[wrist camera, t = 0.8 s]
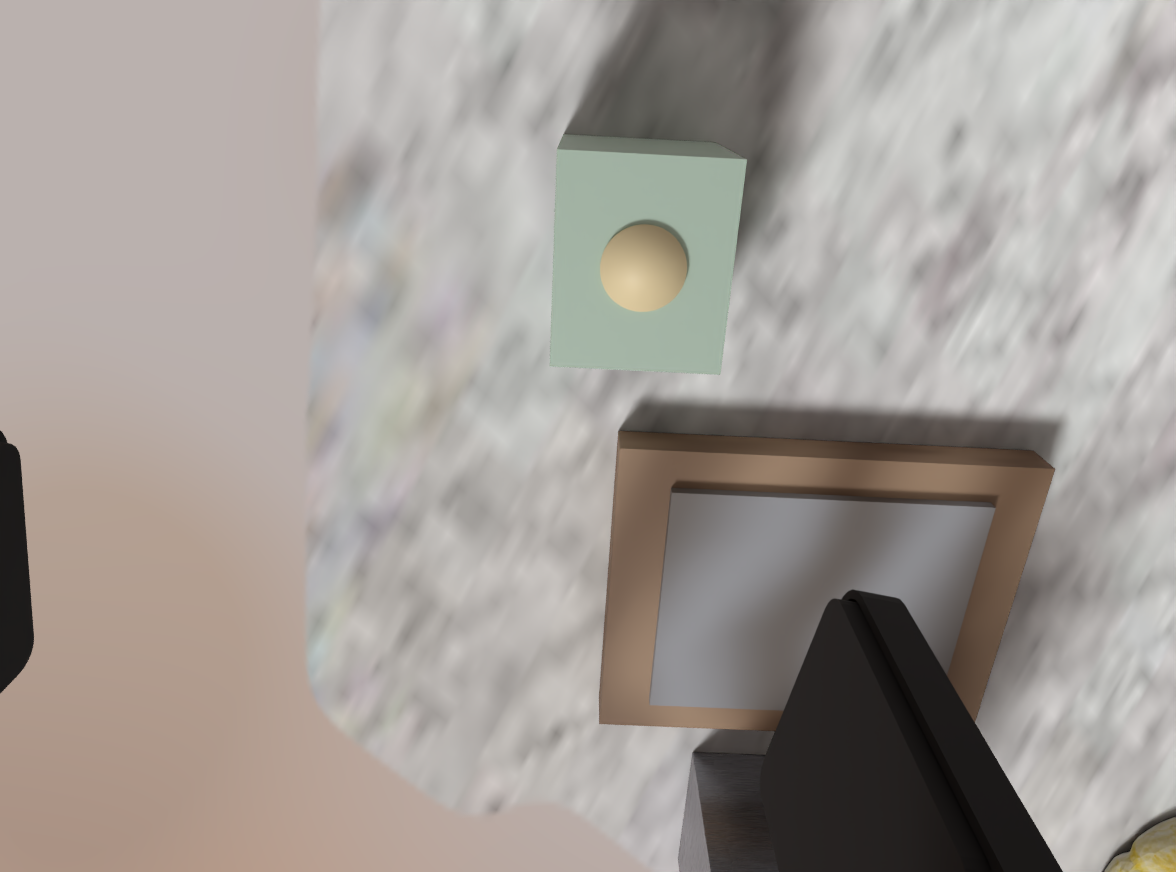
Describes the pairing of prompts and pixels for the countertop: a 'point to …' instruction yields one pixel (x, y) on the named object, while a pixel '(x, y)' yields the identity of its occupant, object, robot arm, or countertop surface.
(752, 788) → the column
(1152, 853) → the bread roll
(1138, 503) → the countertop surface
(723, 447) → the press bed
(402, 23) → the countertop surface
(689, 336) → the block
